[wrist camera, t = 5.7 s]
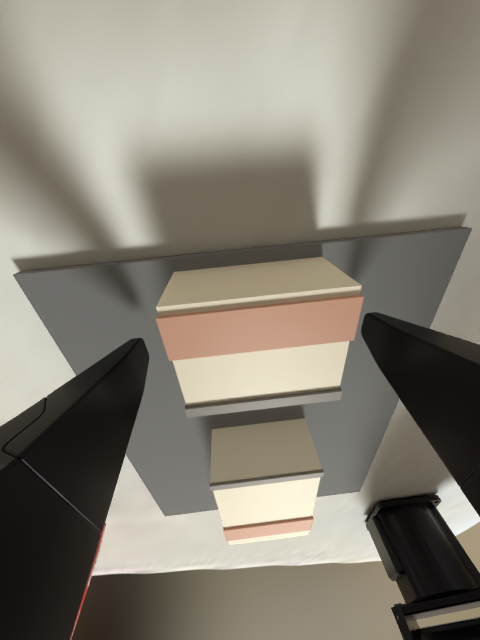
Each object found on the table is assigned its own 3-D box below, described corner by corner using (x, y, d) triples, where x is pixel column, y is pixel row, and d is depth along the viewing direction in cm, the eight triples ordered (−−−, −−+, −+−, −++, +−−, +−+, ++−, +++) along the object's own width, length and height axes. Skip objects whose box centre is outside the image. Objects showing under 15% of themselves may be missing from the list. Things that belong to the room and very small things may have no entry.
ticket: (305, 418, 15) (324, 470, 12) (297, 489, 20) (309, 537, 17) (211, 429, 15) (209, 485, 12) (227, 498, 20) (229, 547, 17)
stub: (323, 256, 9) (366, 287, 7) (312, 352, 12) (340, 402, 9) (172, 272, 9) (152, 310, 6) (195, 365, 12) (188, 420, 9)
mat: (462, 226, 9) (471, 228, 9) (357, 486, 21) (359, 491, 21) (20, 271, 9) (12, 275, 9) (165, 510, 21) (164, 516, 21)
